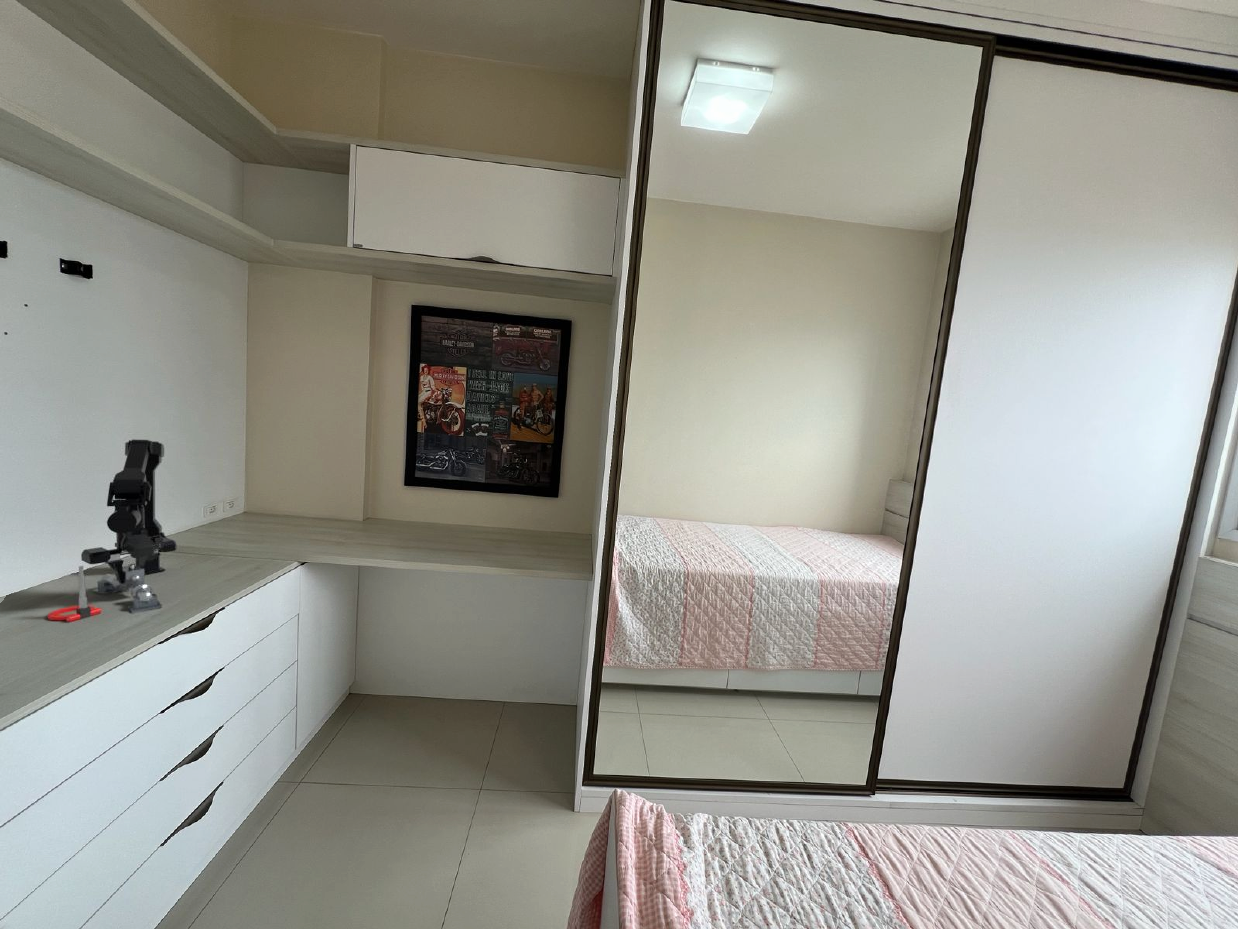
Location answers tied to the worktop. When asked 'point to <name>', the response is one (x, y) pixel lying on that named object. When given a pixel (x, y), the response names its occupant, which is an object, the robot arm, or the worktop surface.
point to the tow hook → (81, 610)
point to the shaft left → (108, 585)
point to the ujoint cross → (132, 576)
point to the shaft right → (143, 599)
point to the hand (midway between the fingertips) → (131, 581)
